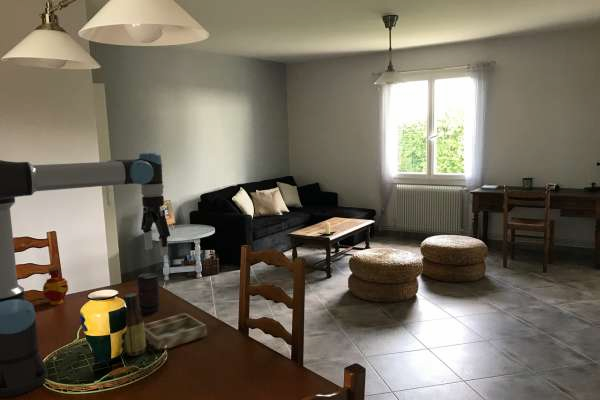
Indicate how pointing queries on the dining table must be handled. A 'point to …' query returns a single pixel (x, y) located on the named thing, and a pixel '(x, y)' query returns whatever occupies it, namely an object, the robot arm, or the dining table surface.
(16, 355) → the robot arm
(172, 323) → the box
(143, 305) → the camera lens
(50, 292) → the potion bottle
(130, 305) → the sauce bottle
